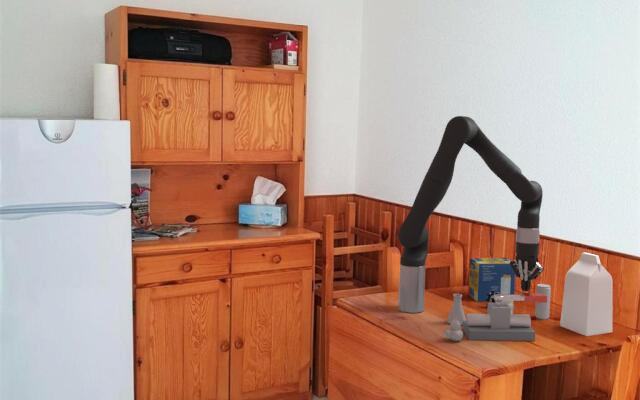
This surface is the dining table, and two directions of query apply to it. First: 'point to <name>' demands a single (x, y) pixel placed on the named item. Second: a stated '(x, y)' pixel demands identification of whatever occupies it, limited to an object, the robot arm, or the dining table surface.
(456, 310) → the flask
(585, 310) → the milk
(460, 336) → the rubber duck
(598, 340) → the dining table surface
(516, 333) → the pipe manifold
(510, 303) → the valve
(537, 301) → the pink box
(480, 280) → the protein box
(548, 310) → the beverage can
